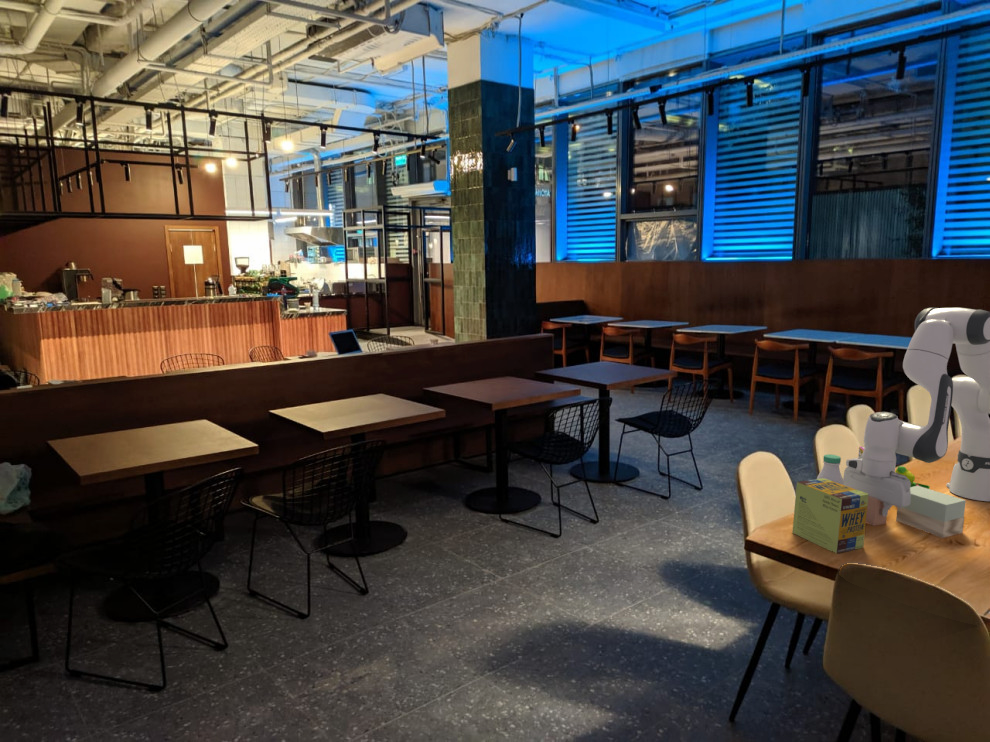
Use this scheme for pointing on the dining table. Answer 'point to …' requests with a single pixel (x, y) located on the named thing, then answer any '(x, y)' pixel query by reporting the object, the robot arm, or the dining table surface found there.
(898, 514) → the tower base
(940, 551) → the dining table surface
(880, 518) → the block
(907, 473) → the green toy figure
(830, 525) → the protein box
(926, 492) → the tower top
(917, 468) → the dining table surface
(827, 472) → the milk bottle
